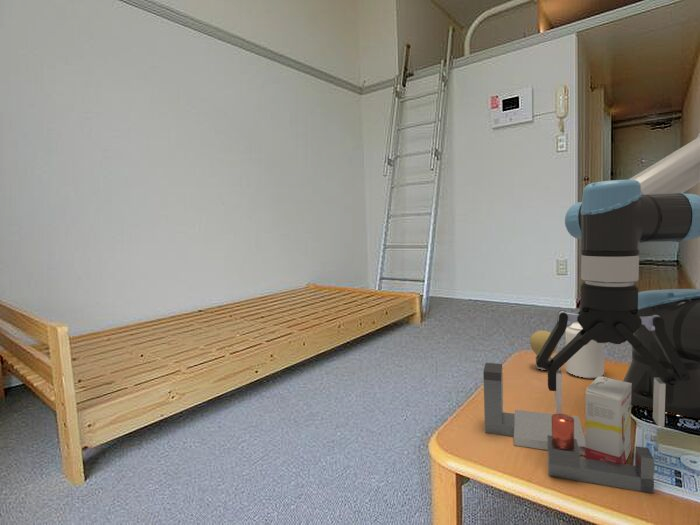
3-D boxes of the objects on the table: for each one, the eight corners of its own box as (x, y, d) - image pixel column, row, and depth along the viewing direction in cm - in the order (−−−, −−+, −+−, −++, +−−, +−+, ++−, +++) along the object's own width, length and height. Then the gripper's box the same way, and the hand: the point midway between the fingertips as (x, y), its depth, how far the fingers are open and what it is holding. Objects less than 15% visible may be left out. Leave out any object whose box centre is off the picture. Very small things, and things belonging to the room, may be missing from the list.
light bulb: (557, 366, 106) (557, 328, 105) (557, 374, 101) (557, 335, 100) (531, 363, 109) (530, 327, 108) (529, 371, 104) (528, 333, 103)
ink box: (620, 476, 60) (620, 399, 59) (583, 464, 64) (583, 391, 63) (632, 451, 67) (632, 381, 66) (597, 441, 70) (597, 374, 69)
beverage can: (564, 367, 106) (563, 321, 105) (600, 369, 103) (600, 322, 102) (567, 378, 98) (567, 329, 97) (606, 381, 95) (606, 330, 94)
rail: (647, 480, 59) (647, 447, 59) (653, 493, 56) (654, 458, 56) (547, 464, 64) (547, 434, 64) (549, 475, 61) (548, 444, 61)
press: (578, 424, 76) (578, 364, 75) (587, 456, 66) (587, 387, 65) (488, 413, 82) (486, 357, 81) (483, 440, 72) (482, 377, 71)
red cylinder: (576, 454, 63) (576, 413, 62) (579, 468, 59) (579, 426, 59) (547, 449, 64) (547, 410, 64) (549, 463, 61) (548, 422, 60)
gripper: (700, 281, 62) (695, 417, 63) (520, 278, 71) (520, 396, 73) (723, 288, 55) (716, 440, 56) (520, 284, 64) (520, 414, 66)
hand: (606, 416), depth 65 cm, fingers open, 13 cm apart
